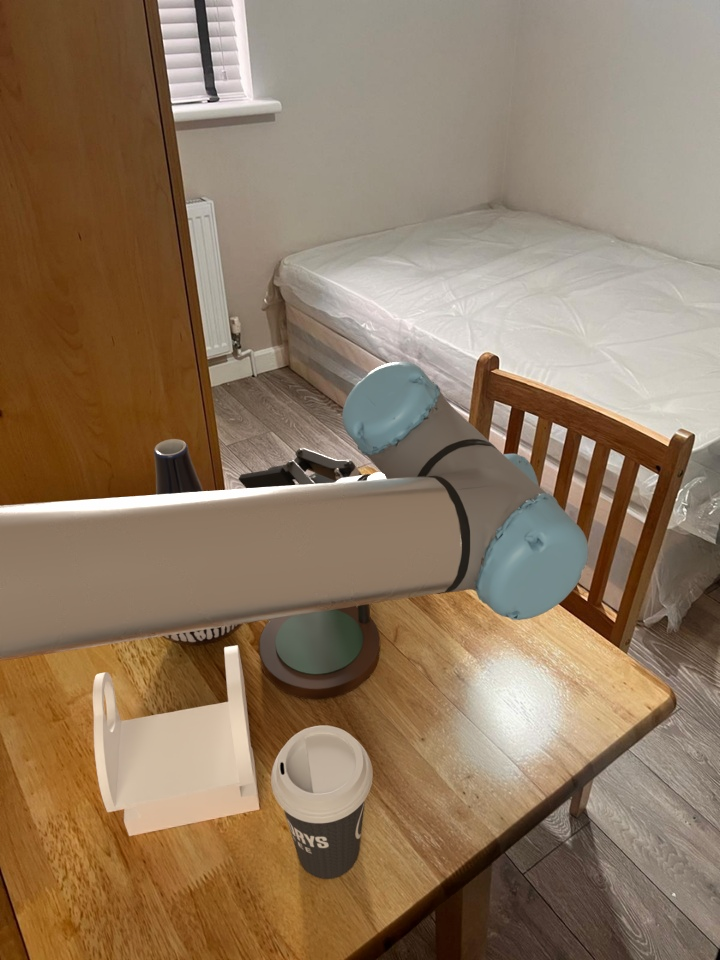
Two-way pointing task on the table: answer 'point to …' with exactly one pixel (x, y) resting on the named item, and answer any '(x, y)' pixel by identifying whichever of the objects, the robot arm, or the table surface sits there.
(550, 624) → the table surface
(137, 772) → the white stand
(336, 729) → the coffee cup
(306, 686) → the paper towel holder
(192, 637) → the vase
